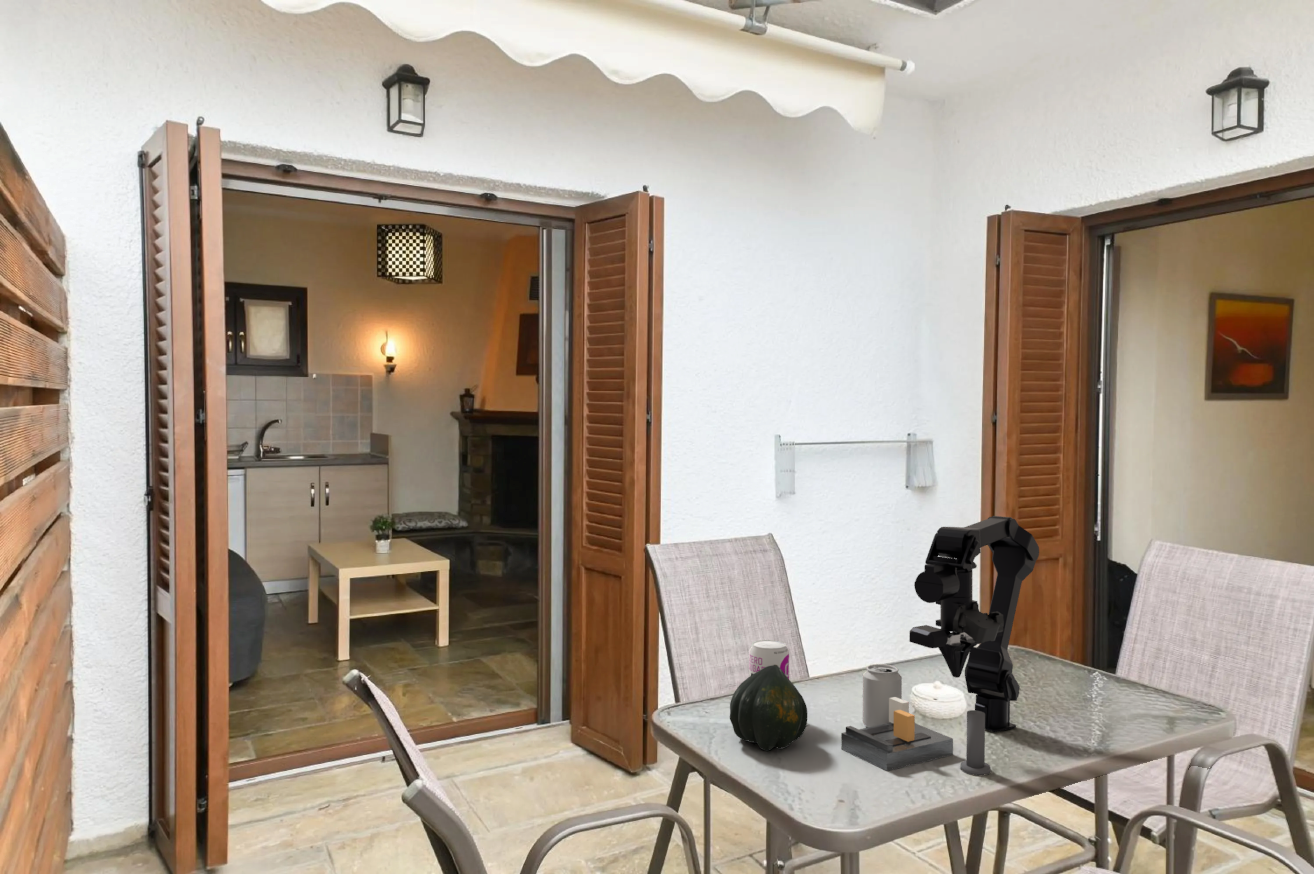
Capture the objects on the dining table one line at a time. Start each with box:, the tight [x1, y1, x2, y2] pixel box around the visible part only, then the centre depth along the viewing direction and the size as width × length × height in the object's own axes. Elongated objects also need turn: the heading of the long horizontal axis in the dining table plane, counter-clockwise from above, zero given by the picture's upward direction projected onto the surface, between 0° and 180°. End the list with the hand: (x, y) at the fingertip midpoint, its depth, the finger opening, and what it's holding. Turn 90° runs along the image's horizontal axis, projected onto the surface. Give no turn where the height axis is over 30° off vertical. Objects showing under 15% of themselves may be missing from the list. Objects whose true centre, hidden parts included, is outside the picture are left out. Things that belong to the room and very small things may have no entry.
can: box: [862, 663, 903, 728], centre depth 181 cm, size 8×8×12 cm
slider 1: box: [889, 697, 910, 723], centre depth 173 cm, size 2×4×4 cm, turn 29°
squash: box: [729, 665, 808, 752], centre depth 172 cm, size 14×15×15 cm
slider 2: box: [894, 710, 916, 742], centre depth 165 cm, size 2×4×4 cm, turn 29°
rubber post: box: [959, 709, 992, 776], centre depth 159 cm, size 5×5×10 cm
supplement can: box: [748, 639, 790, 680], centre depth 187 cm, size 8×8×15 cm
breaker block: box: [840, 722, 954, 772], centre depth 167 cm, size 16×12×4 cm
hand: (956, 676), depth 171 cm, fingers closed
